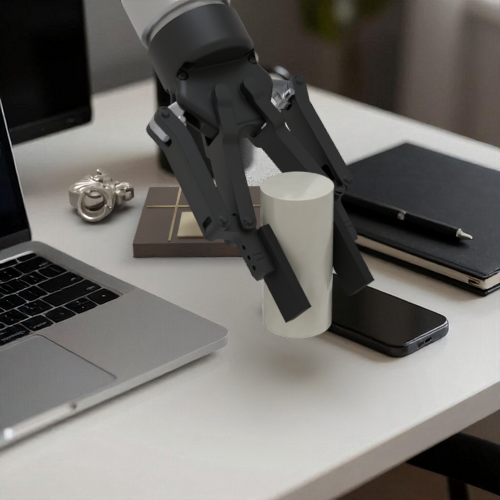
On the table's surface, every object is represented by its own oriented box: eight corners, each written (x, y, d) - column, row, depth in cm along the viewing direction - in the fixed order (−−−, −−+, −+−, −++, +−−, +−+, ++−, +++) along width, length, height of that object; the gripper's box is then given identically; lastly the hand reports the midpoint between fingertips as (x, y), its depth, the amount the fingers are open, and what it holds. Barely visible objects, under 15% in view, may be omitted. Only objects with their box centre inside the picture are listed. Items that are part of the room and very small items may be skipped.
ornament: (136, 221, 96) (134, 189, 94) (69, 226, 95) (65, 194, 94) (133, 192, 103) (131, 161, 102) (71, 196, 102) (68, 165, 101)
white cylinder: (329, 302, 72) (331, 170, 67) (333, 338, 67) (336, 199, 62) (262, 303, 72) (260, 172, 67) (262, 339, 67) (259, 200, 62)
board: (277, 198, 101) (277, 183, 100) (279, 256, 88) (279, 240, 88) (149, 199, 101) (148, 185, 101) (133, 257, 89) (132, 241, 88)
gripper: (263, 38, 78) (394, 281, 73) (68, 78, 68) (205, 361, 64) (304, -18, 72) (449, 244, 67) (96, 18, 62) (249, 327, 58)
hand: (330, 300), depth 65 cm, fingers closed on white cylinder, 5 cm apart
